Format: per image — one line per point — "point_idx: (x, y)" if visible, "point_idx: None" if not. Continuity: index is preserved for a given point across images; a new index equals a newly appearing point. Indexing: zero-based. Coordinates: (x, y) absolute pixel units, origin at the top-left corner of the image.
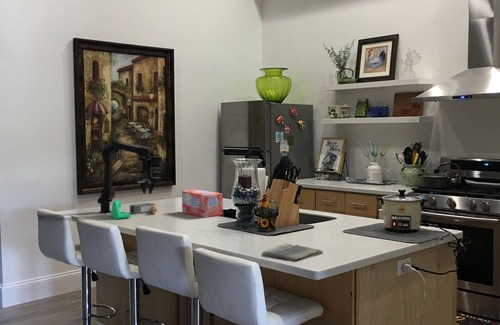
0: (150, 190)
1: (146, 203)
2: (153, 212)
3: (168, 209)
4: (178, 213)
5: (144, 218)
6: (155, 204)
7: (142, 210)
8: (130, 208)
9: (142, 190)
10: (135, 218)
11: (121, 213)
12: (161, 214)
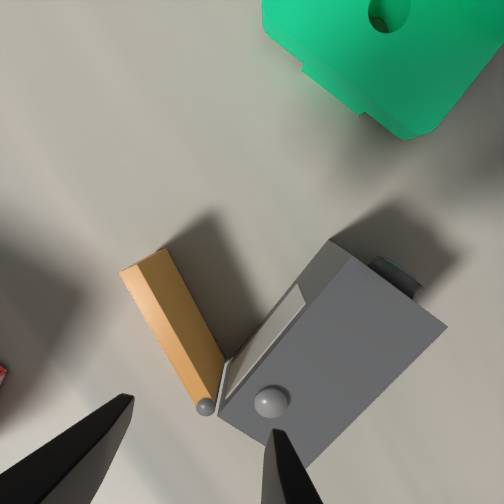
0: (38, 461)
1: (309, 427)
2: (155, 253)
3: (189, 469)
4: (16, 335)
5: (125, 46)
6: (197, 400)
7: (288, 299)
8: (401, 268)
9: (313, 496)
10: (207, 25)
11: (390, 33)
12: (109, 272)
